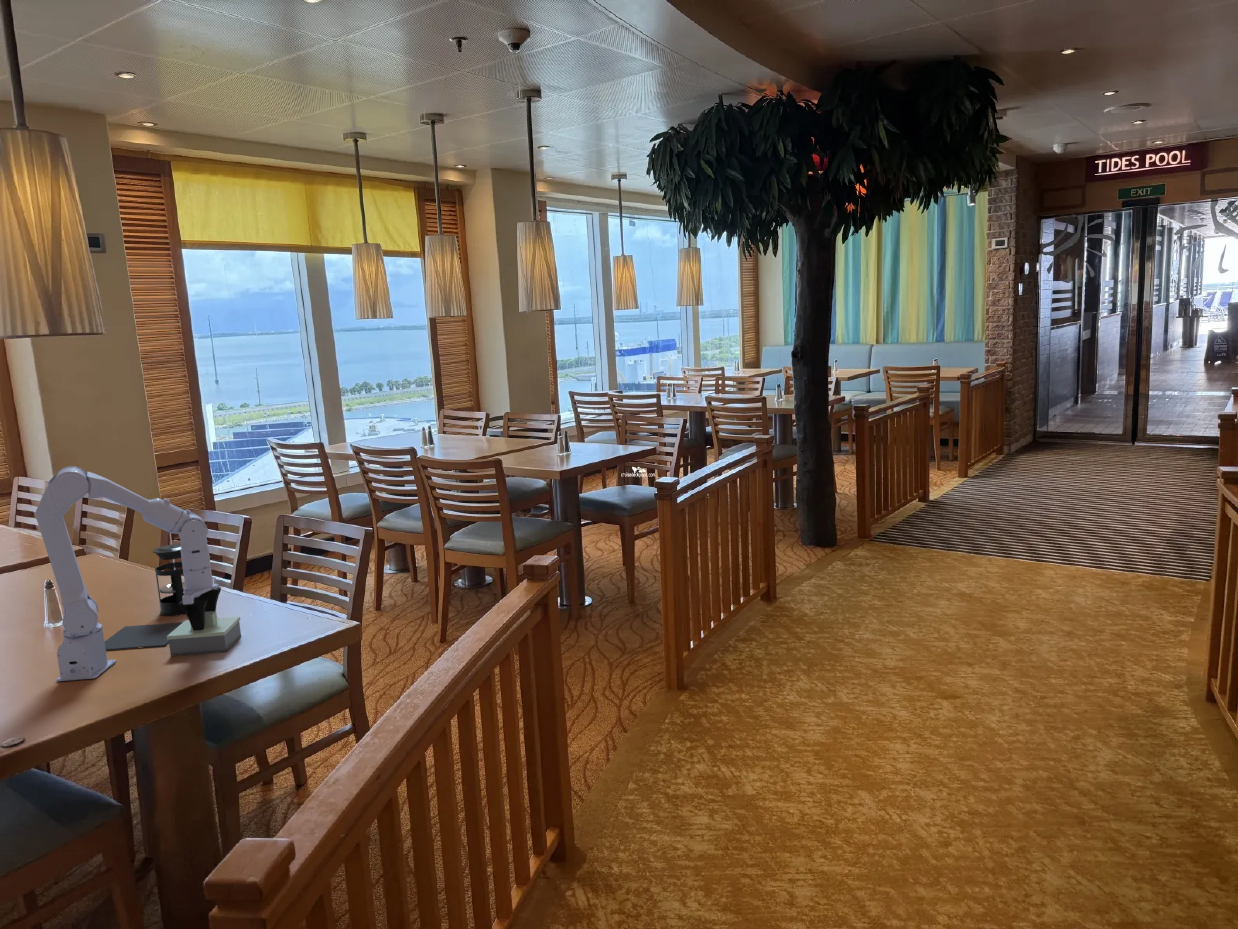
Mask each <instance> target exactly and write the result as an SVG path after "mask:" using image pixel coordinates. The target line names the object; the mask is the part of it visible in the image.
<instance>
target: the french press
mask: <svg viewBox="0 0 1238 929" xmlns="http://www.w3.org/2000/svg"><path fill="white" fill-rule="evenodd" d="M167 533H168V534H169V540H170V544H166V545H162V546H159V547H156V548H154V549H152V553H153V554H155V555H156V556H158V558H159V559H161V560H164V561H171V560H172V562H168V563H163V564H161V565H158V566H156V567H155V569H154V572H155V578H156V585H157V592H158V600H159V608H160V610H159V614H160V615H161V616H163V615H164V617H176V616H175V615H177V616H182V615H181V614H183V615H186V614H185V612H184V611H183V610H182V609H181V608H180V606H179V602H181V601H182V600H183V599H182V596H183V595H184V589H185V582H184V581H183V578H182V574H183V566H182V561H175V560H177V559H181V543H174V544H173V539H172V533H169V532H167ZM178 567H179V568H178ZM180 567H182V568H180ZM167 569H169V570H167ZM183 575H184V574H183ZM160 576H161V577H169V576H170V583H169V584H167V585H166V584H165V585H163V586H162V587H160V586H159V585H160V584H159V577H160ZM161 594H165V595H166V594H171V595H168V596H164V597H162V598H161Z"/></svg>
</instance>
